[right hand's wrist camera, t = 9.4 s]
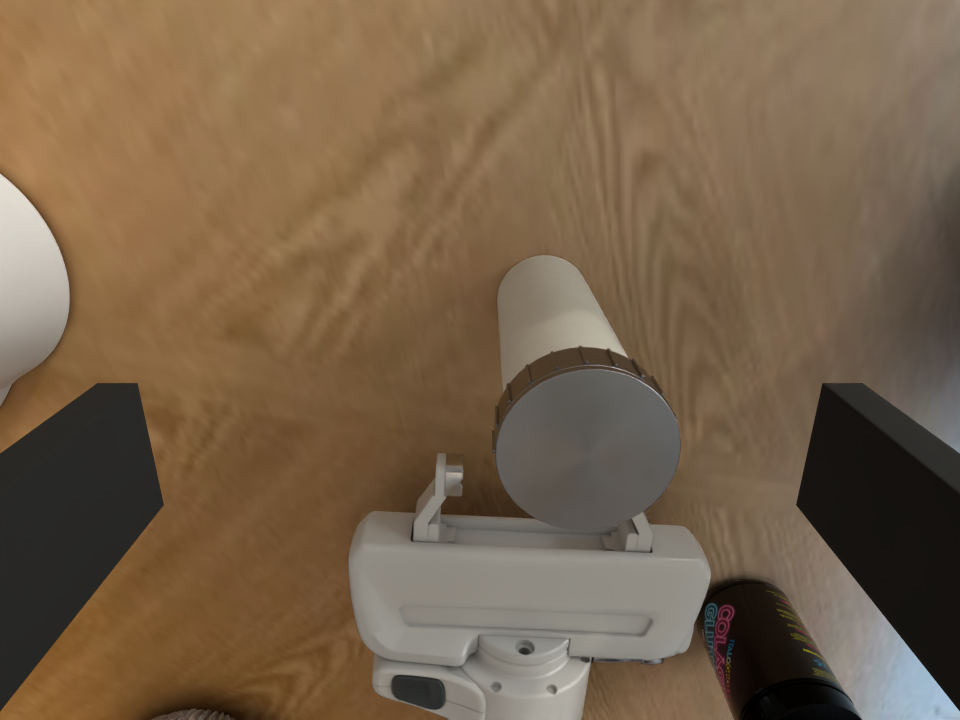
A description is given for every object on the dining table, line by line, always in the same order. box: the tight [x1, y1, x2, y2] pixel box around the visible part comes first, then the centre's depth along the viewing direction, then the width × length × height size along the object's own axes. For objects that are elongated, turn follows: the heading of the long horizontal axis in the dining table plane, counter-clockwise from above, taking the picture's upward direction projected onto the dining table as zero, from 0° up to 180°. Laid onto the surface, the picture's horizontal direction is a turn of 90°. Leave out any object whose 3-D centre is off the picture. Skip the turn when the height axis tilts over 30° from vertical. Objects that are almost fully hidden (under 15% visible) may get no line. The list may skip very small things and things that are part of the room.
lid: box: [492, 346, 681, 530], centre depth 22 cm, size 6×6×2 cm
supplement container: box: [697, 579, 862, 720], centre depth 41 cm, size 7×7×10 cm
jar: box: [497, 255, 628, 393], centre depth 30 cm, size 5×5×17 cm
